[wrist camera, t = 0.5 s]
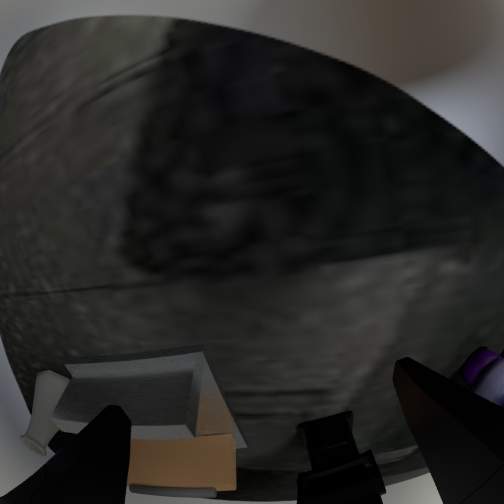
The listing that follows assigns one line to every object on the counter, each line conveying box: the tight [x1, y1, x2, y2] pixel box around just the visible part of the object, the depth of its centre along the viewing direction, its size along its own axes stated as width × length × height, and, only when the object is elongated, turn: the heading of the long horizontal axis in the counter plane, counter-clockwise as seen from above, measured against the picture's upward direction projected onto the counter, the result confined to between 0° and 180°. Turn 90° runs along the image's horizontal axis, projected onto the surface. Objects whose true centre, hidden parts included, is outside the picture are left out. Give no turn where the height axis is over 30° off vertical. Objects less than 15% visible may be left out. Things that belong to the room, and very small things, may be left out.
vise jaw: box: [127, 434, 236, 498], centre depth 24 cm, size 2×14×8 cm, turn 102°
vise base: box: [50, 345, 248, 449], centre depth 23 cm, size 17×16×8 cm
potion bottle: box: [461, 347, 504, 407], centre depth 23 cm, size 9×9×12 cm
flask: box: [20, 370, 70, 456], centre depth 22 cm, size 7×7×10 cm
